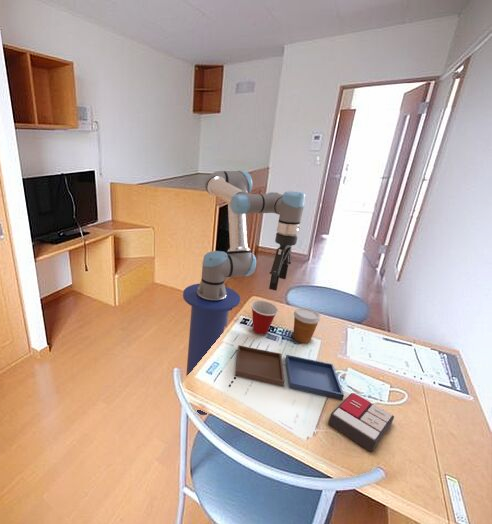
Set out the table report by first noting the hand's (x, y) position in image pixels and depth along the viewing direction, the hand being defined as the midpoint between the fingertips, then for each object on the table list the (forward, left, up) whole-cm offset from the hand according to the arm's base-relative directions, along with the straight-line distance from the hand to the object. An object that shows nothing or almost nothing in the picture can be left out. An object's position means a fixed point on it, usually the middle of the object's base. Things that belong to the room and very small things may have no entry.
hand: (277, 283), depth 124 cm
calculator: (+43, +22, -22) cm, 53 cm away
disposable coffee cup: (+3, +12, -22) cm, 25 cm away
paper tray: (+27, -5, -22) cm, 35 cm away
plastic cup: (+3, -4, -22) cm, 22 cm away
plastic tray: (+27, +12, -22) cm, 37 cm away
